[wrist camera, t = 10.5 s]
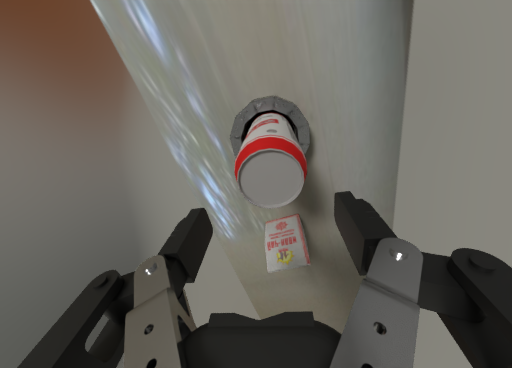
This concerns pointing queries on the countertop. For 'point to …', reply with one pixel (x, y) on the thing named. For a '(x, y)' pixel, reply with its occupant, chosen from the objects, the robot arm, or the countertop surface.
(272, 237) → the white printed box
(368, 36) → the countertop surface
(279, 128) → the beer can
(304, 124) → the collar
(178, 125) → the countertop surface
